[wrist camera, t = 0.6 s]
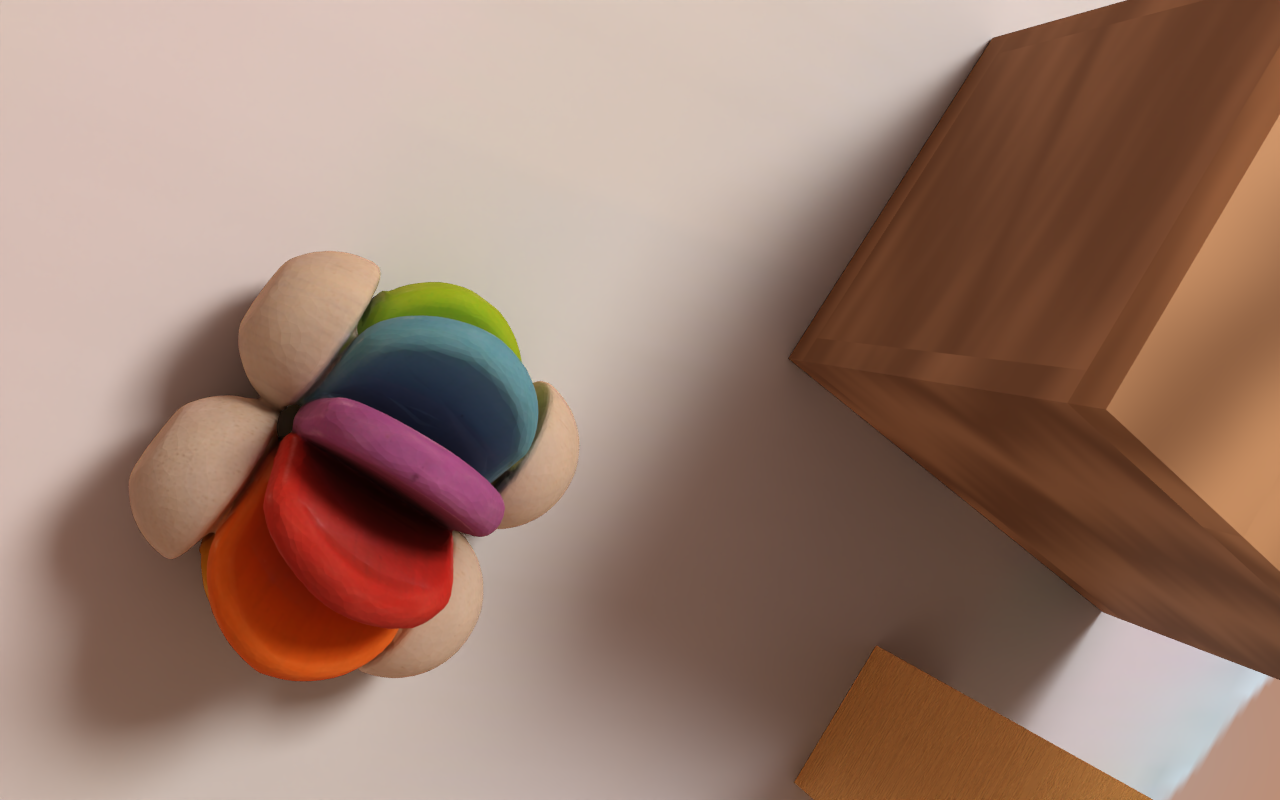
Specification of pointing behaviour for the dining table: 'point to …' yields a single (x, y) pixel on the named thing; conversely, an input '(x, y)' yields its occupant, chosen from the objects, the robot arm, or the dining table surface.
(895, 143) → the dining table surface
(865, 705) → the tan rectangular block
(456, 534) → the multicolored rounded segment toy
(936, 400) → the wooden box with opening
